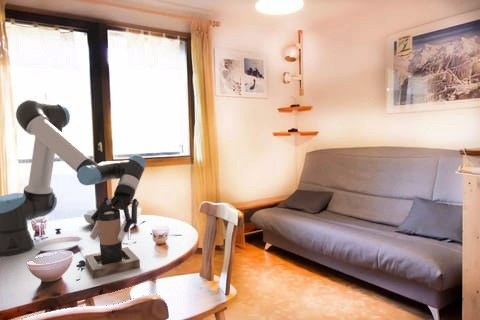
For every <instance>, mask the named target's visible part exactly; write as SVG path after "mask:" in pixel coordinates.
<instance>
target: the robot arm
mask: <svg viewBox="0 0 480 320" xmlns="http://www.w3.org/2000/svg"><path fill="white" fill-rule="evenodd" d="M15 119H16V121H17V123H18V124H19V126H20V128H21V129H22V130H24V131H25V132H26V133H27V134H28V135H32V136H34V142H33V149H32V157H31V165H30V171H29V178H28V184H27V185H26V186H24V188H23V192H12V193H9V194H4V195H1V196H0V257H5V256H13V255H18V254H21V253H25V252H27V251H29V250H32V249H33V248H34V247H35V246H34V245H35V244H34V239H33V238H32V235H31V232H30V231H29V227H28V221H31V220H34V219H35V220H36V219H37V218H40V217H41V218H42V217H45V216H47V215H48V214H49V215H50V214H51V213H53V211H54V210H55V209H56V207H57V205H58V204H57V203H58V199H57V197H56V194H55V192H54V189H53V187H51V181H52V176H53V167H54V161H55V155H57V157H59V158H60V160H62V161H63V162H64V163H65V164H67V165H68V166H69V167H70V168H71V169H72V170H74V172H76V178H77V179H78V182H79V183H80V184H81V185H83V186H94V185H97V184H99V183H103V182H107V181H111V180H117V179H119V181H118V183H117V186H116V187H115V190H114V193H113V196H112V197H111V198H108V197H105V198H104V199H103V201H102V203H101V204H100V206H99V207H98V208H96V209H97V211H96V212H95V213H94V214H93V216H92V217H91V219H92V220H93V221H94V224H92V227H91V232H90V234H89V237H90V239H91V240H93V241H95V240H96V239H97V236H98V232H99V218H98V213H99V212H100V211H102V210H107V209H118V210H120V211H123V213H124V218H125V221H123V222H122V224H121V230H120V233H119V235H118V239H119V240H120V241H121V242H124V239H125V235H126V233H128V232H129V231H130V228H131V226H132V225H136V224H137V222H138V219H137V218H138V206H139V203H140V202H139V200H138V199H137V198H134V197H135V195H136V192H137V189H138V186H139V185H140V181H141V179H142V176H143V173H144V171H145V168H146V165H147V161H146V159H145V158H144V157H143V156H142V155H139V154H132V155H129V157H128V158H127V160H122V161H121V160H113V161H111V160H107V161H101V162H99V163H97V162H96V161H94V160H93V159H92V158H91V157H90V156H89V155H87V154H86V153H85V152H84V151H83V150H82V149H81V148H79V147H78V146H77V145H76V144H75V143H74V142H73V141H71V140H70V139H69V138H68V137H67V136H66V135H64V133H63V128H65V127H67V125H68V124H69V123H70V119H71V115H70V112H69V109H68V108H67V106H65V105H64V104H63V103H61V102H58V101H55V100H43V99H41V100H38V99H28V100H25V101H23V102H21V103H20V104H19V105H18V107H17V109H16V112H15ZM130 205H131V211H130V212H131V213H130V212H129V206H130Z"/></svg>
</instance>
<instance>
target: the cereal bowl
mask: <svg viewBox="0 0 480 320" xmlns="http://www.w3.org/2000/svg"><path fill="white" fill-rule="evenodd" d="M97 209H98V208H95V209H91V210H87V211H84V212H83V217H84V221H86V223H88V224H90V225H93V224H94V221H93V220H92V219H91V217H92V216H93V214H94V213H95V212H96V211H97Z"/></svg>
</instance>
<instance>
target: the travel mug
mask: <svg viewBox="0 0 480 320" xmlns="http://www.w3.org/2000/svg"><path fill="white" fill-rule="evenodd" d="M98 218H99V235H98V236H99V239H98V240H99V250H100V251H99V252H100V253H101V262H102V265H106V264H110V263H115V262H119V261H122V248H123V243H122V242H121V241H120V240H119V239H118V235H119V233H120V230H121V228H122V224H121V223H122V222H121V210H120V209H119V210H118V209H107V210H102V211H100V212H99V213H98Z"/></svg>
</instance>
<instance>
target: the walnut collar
mask: <svg viewBox="0 0 480 320" xmlns="http://www.w3.org/2000/svg"><path fill="white" fill-rule="evenodd" d="M84 261H85V262H84V263H85V266H86V267H87V269H88V271H89V272H90V274H91V277H92V279H97V278H102V277H105V276H109V275H113V274H118V273H123V272H125V271H130V270H131V271H132V270H135V269H138V268H141V263H140V262H141V261H140V258H139V257H138V256H137V255H136V254H135V253H134V252H133V251H132V250H131V248H129V246H126V247H122V261H119V262H115V263H110V264H106V265H102V262H101V252H97V253H92V254H88V255H85V256H84Z"/></svg>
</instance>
